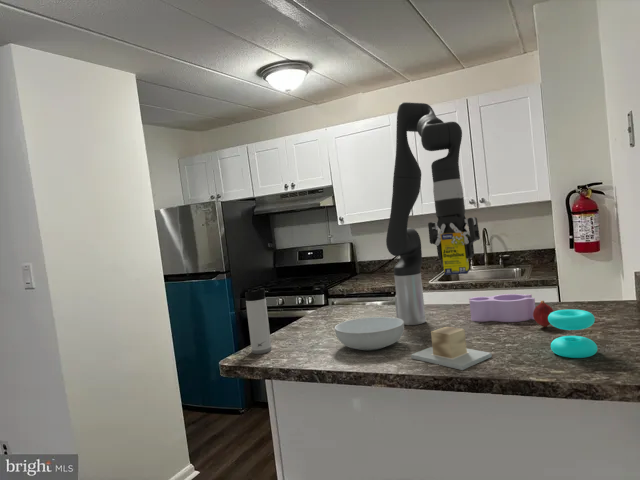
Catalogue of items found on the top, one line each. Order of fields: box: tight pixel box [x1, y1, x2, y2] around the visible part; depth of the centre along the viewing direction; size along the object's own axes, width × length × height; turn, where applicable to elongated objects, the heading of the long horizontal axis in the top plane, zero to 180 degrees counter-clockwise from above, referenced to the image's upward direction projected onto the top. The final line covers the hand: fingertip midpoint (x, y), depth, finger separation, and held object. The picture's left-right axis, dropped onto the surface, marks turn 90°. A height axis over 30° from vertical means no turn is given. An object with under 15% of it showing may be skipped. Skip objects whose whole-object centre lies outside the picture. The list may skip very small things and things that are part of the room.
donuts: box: [548, 309, 598, 359], centre depth 110 cm, size 10×10×10 cm
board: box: [410, 346, 493, 371], centre depth 117 cm, size 16×12×1 cm
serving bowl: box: [334, 316, 405, 351], centre depth 135 cm, size 21×21×7 cm
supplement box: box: [440, 232, 470, 276], centre depth 120 cm, size 6×6×11 cm
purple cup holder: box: [468, 293, 536, 323], centre depth 152 cm, size 20×12×7 cm, turn 73°
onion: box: [533, 300, 554, 328], centre depth 135 cm, size 6×6×8 cm
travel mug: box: [244, 287, 272, 355], centre depth 143 cm, size 6×7×20 cm
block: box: [430, 326, 468, 358], centre depth 117 cm, size 6×6×6 cm
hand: (456, 258), depth 121 cm, fingers closed on supplement box, 8 cm apart
